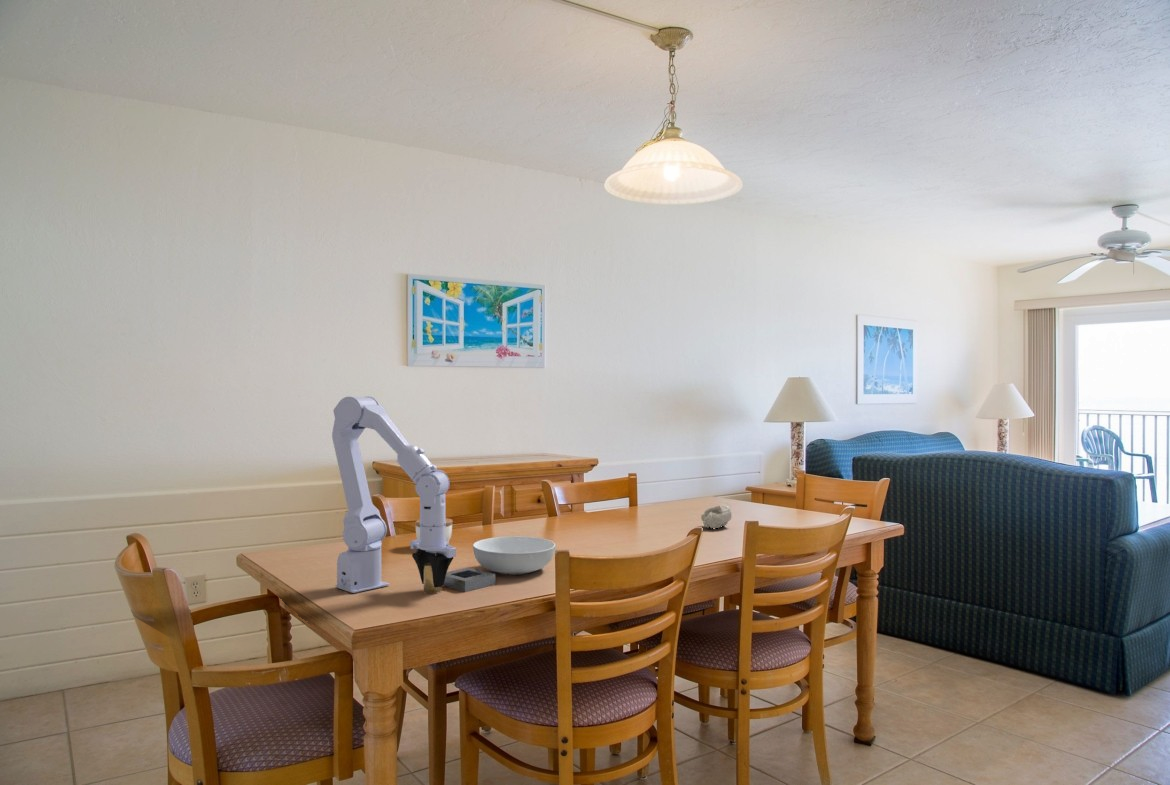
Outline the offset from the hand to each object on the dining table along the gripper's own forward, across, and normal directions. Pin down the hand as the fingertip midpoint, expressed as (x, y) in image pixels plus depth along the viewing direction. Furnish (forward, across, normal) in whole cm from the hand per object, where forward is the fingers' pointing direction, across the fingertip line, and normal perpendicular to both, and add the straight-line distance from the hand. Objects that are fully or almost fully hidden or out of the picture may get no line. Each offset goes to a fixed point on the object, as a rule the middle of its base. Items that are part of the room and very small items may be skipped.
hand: (432, 584), depth 170 cm
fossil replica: (+2, -4, -113) cm, 113 cm away
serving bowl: (+2, +1, -26) cm, 26 cm away
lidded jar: (+2, +40, -30) cm, 50 cm away
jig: (+1, -1, -9) cm, 9 cm away
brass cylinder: (+1, 0, 0) cm, 1 cm away
